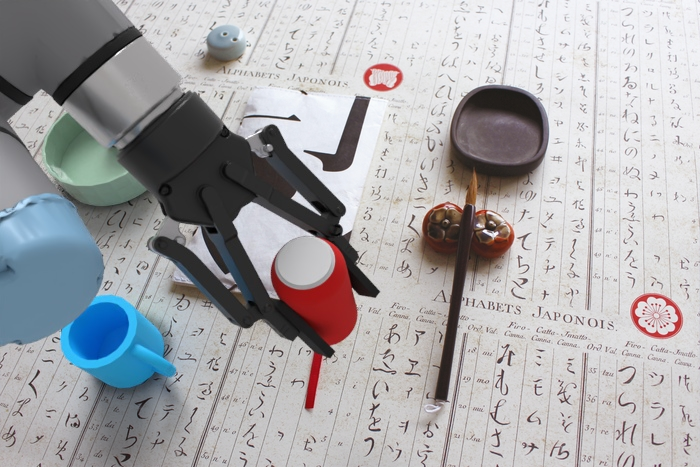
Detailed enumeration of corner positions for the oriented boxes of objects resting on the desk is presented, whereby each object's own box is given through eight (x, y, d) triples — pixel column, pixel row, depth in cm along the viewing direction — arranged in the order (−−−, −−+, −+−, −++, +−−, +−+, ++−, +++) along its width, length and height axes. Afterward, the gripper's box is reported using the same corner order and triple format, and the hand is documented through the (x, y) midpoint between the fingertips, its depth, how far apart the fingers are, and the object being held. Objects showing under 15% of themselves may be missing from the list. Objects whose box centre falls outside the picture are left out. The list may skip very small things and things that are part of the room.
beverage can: (314, 281, 56) (290, 217, 46) (369, 305, 54) (357, 243, 44) (283, 334, 53) (250, 278, 43) (340, 361, 51) (320, 309, 41)
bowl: (111, 226, 75) (94, 206, 71) (38, 171, 80) (18, 150, 76) (192, 147, 81) (181, 125, 76) (119, 102, 86) (105, 78, 82)
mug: (81, 370, 65) (43, 349, 58) (123, 310, 69) (92, 283, 62) (165, 414, 62) (136, 397, 55) (204, 349, 66) (181, 325, 59)
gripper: (221, 54, 47) (384, 243, 56) (44, 213, 40) (261, 400, 49) (255, 26, 41) (433, 244, 49) (51, 210, 34) (300, 425, 42)
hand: (347, 321), depth 49 cm, fingers closed on beverage can, 6 cm apart
